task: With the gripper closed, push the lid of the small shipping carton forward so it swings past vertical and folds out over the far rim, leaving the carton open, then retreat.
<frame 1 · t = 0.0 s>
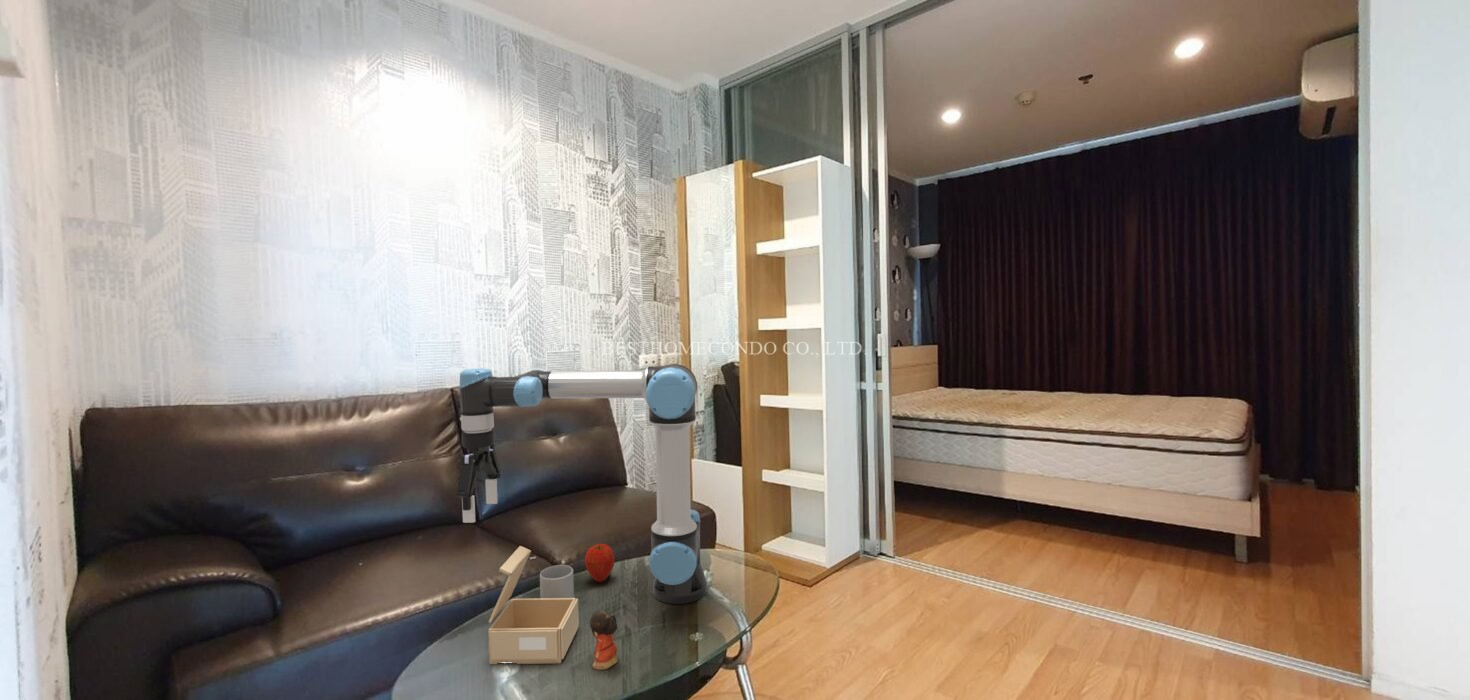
hand: (481, 512, 149), 28 cm above the table, fingers open, 13 cm apart
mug: (556, 609, 155), on the table
lid: (505, 582, 137), point 16 cm above the table, hinge at 65.0°
carton: (535, 645, 138), on the table
figurine: (605, 663, 131), on the table
apple: (600, 581, 171), on the table
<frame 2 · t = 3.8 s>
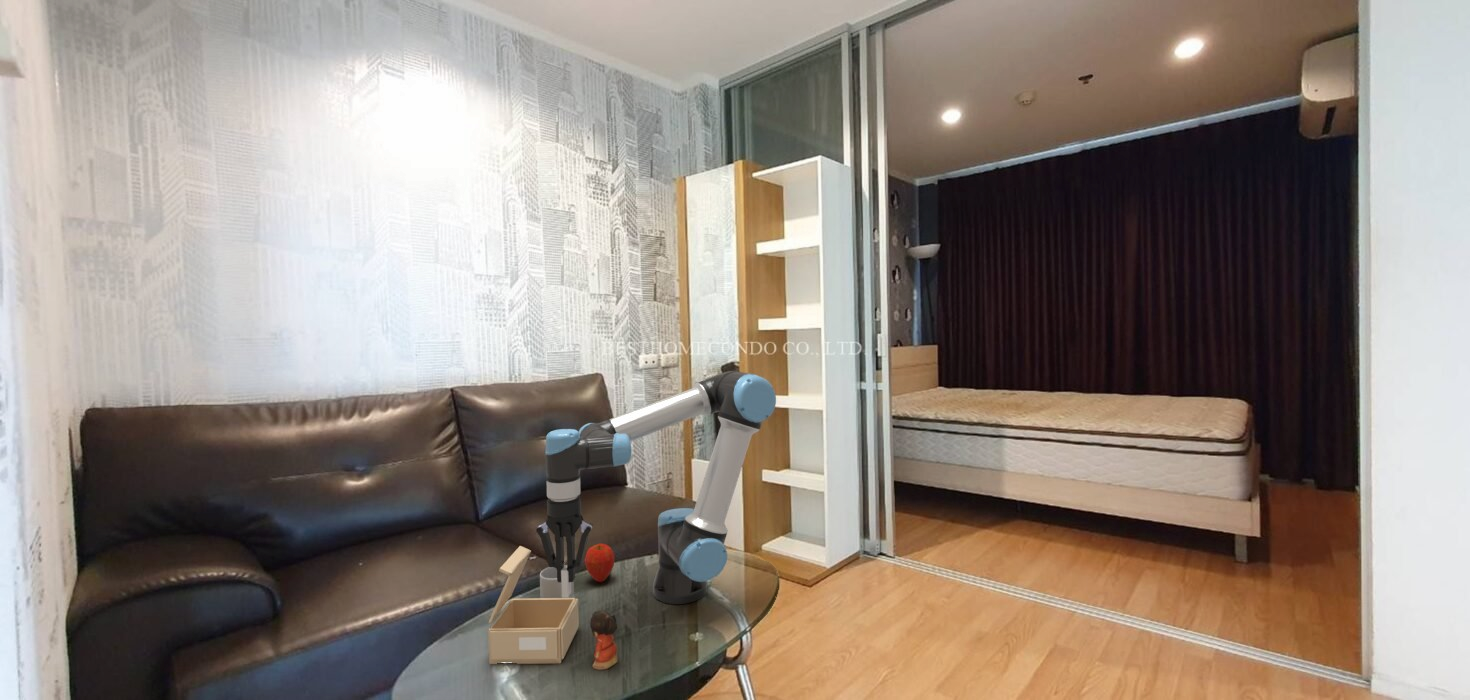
hand: (566, 594, 137), 12 cm above the table, fingers closed
nothing on the table moved.
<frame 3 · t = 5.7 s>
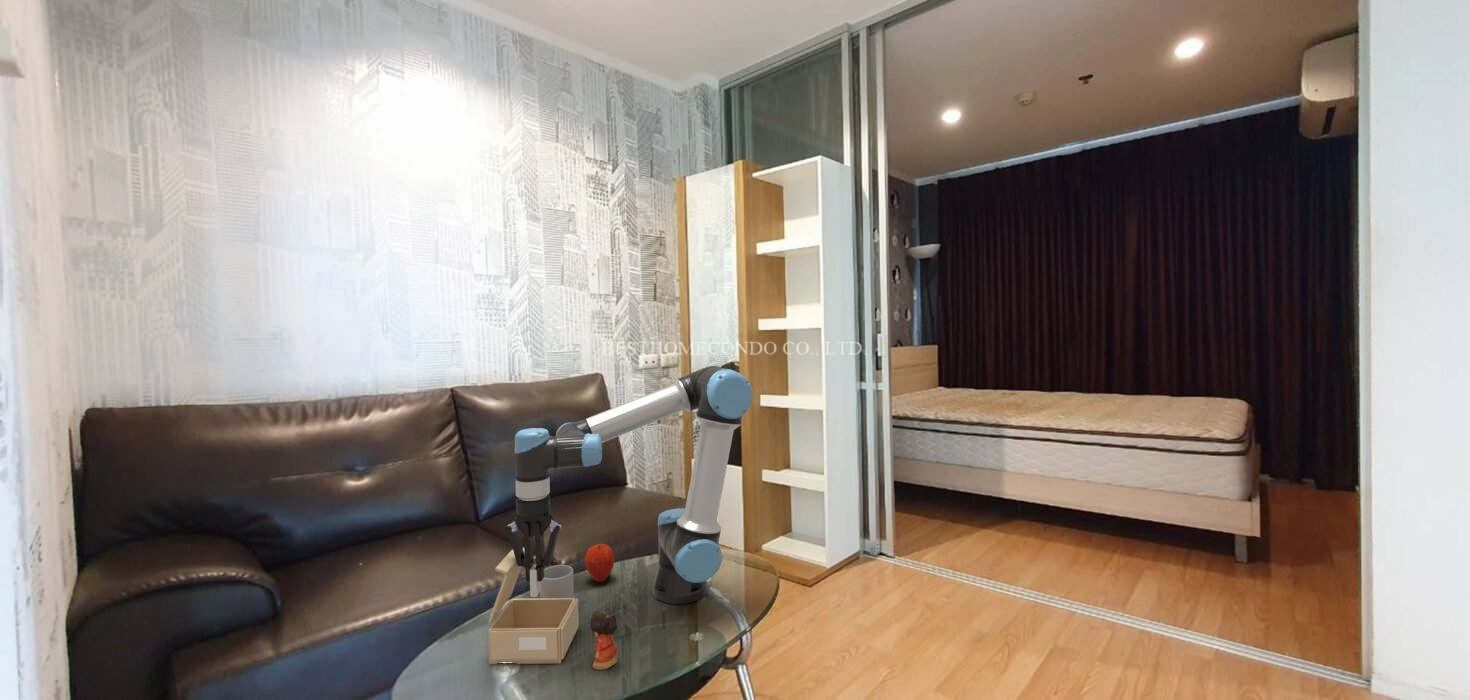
hand: (535, 593, 137), 13 cm above the table, fingers closed
lid: (503, 582, 137), point 16 cm above the table, hinge at 68.9°
everything else where it was.
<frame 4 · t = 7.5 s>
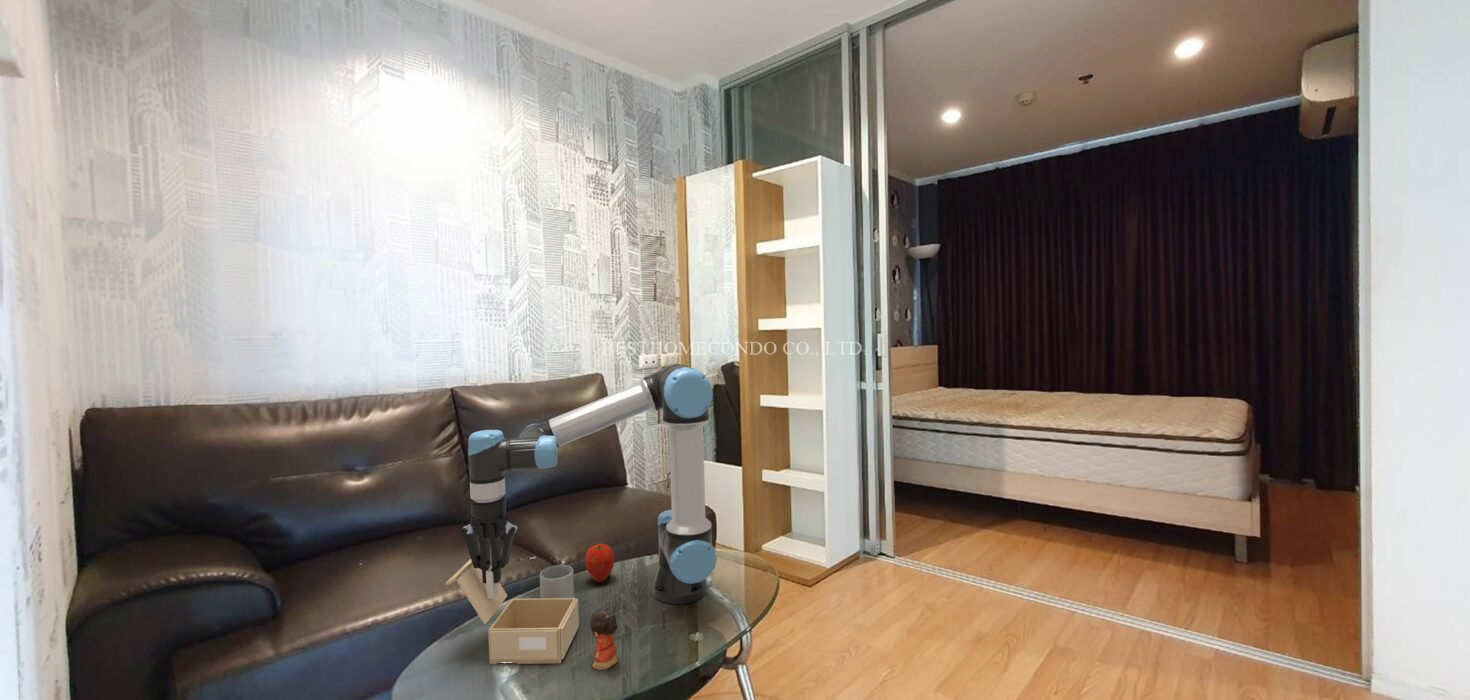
hand: (492, 595, 137), 12 cm above the table, fingers closed
lid: (477, 589, 137), point 14 cm above the table, hinge at 119.8°, touching gripper
everything else where it was.
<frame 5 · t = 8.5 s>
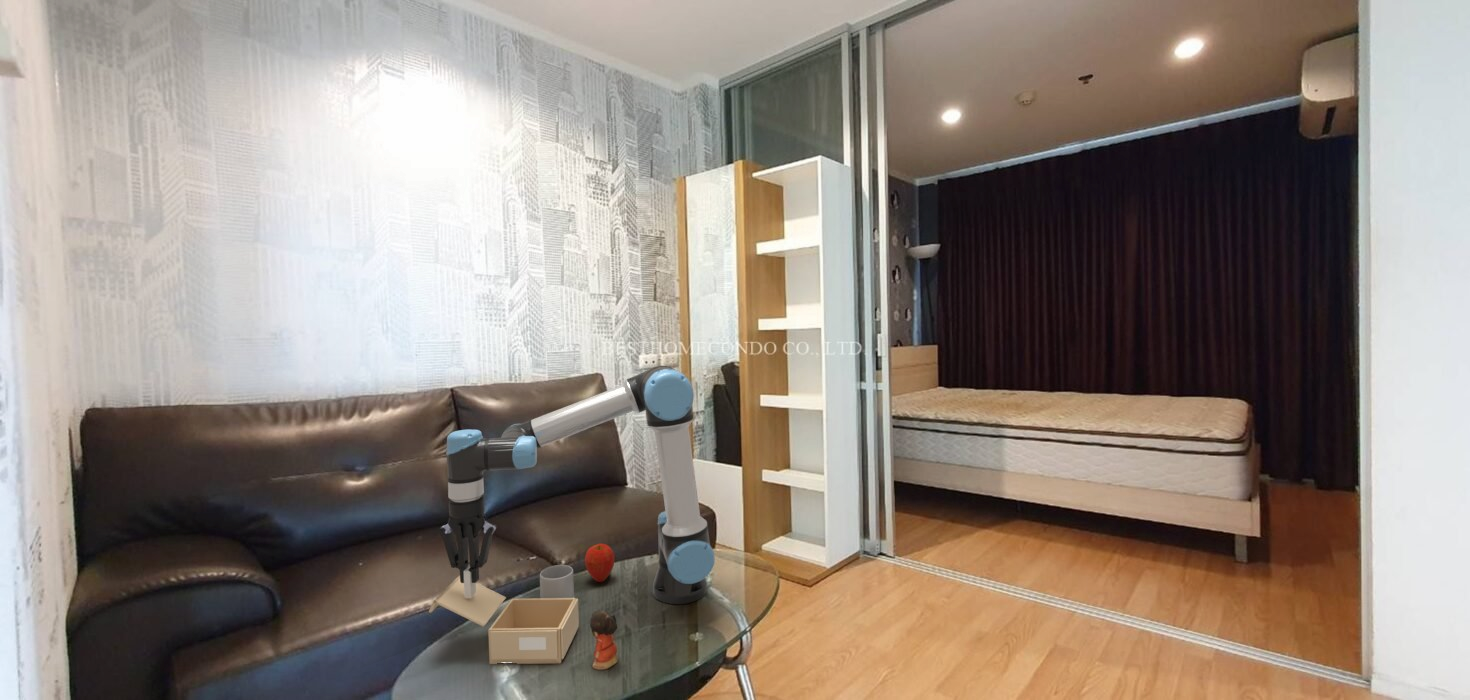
hand: (470, 595, 137), 13 cm above the table, fingers closed
lid: (469, 604, 137), point 10 cm above the table, hinge at 151.8°, touching gripper
everything else where it was.
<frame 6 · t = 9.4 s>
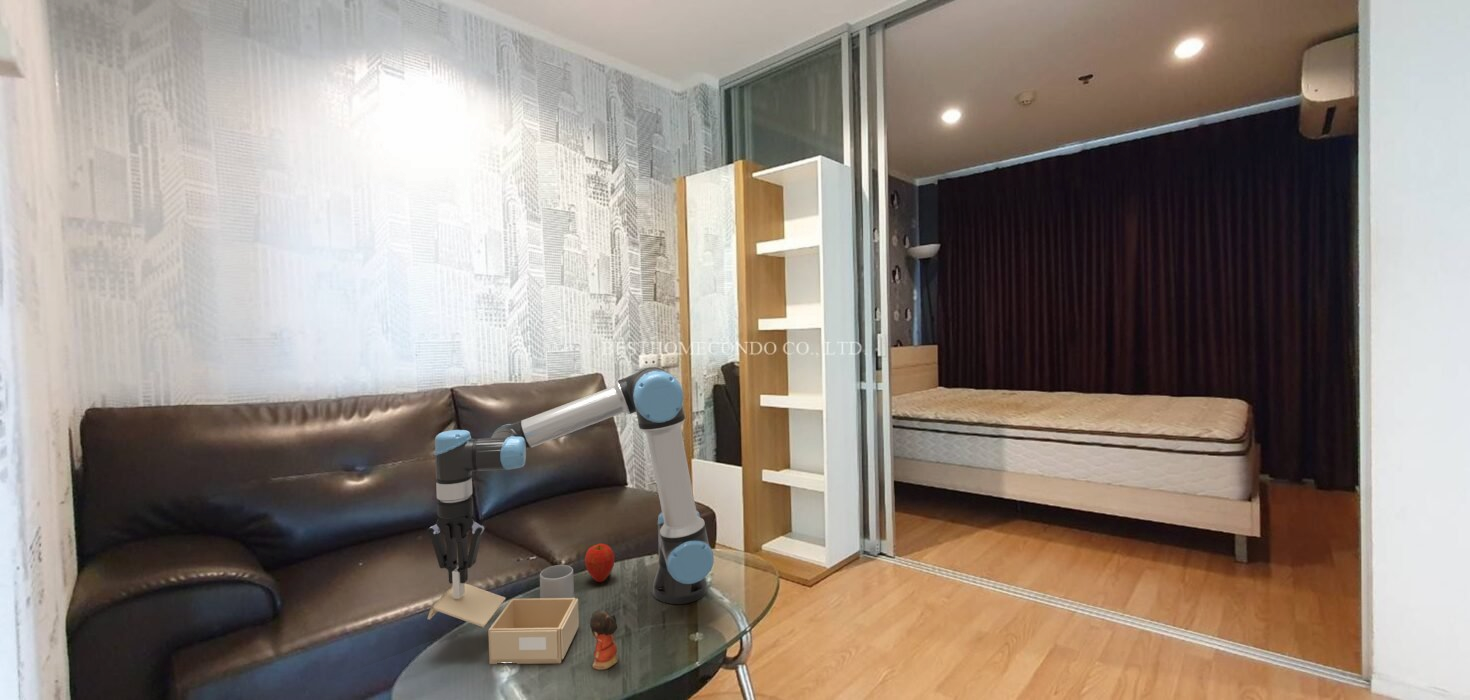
hand: (459, 595, 137), 12 cm above the table, fingers closed
lid: (468, 607, 137), point 10 cm above the table, hinge at 158.8°, touching gripper
everything else where it was.
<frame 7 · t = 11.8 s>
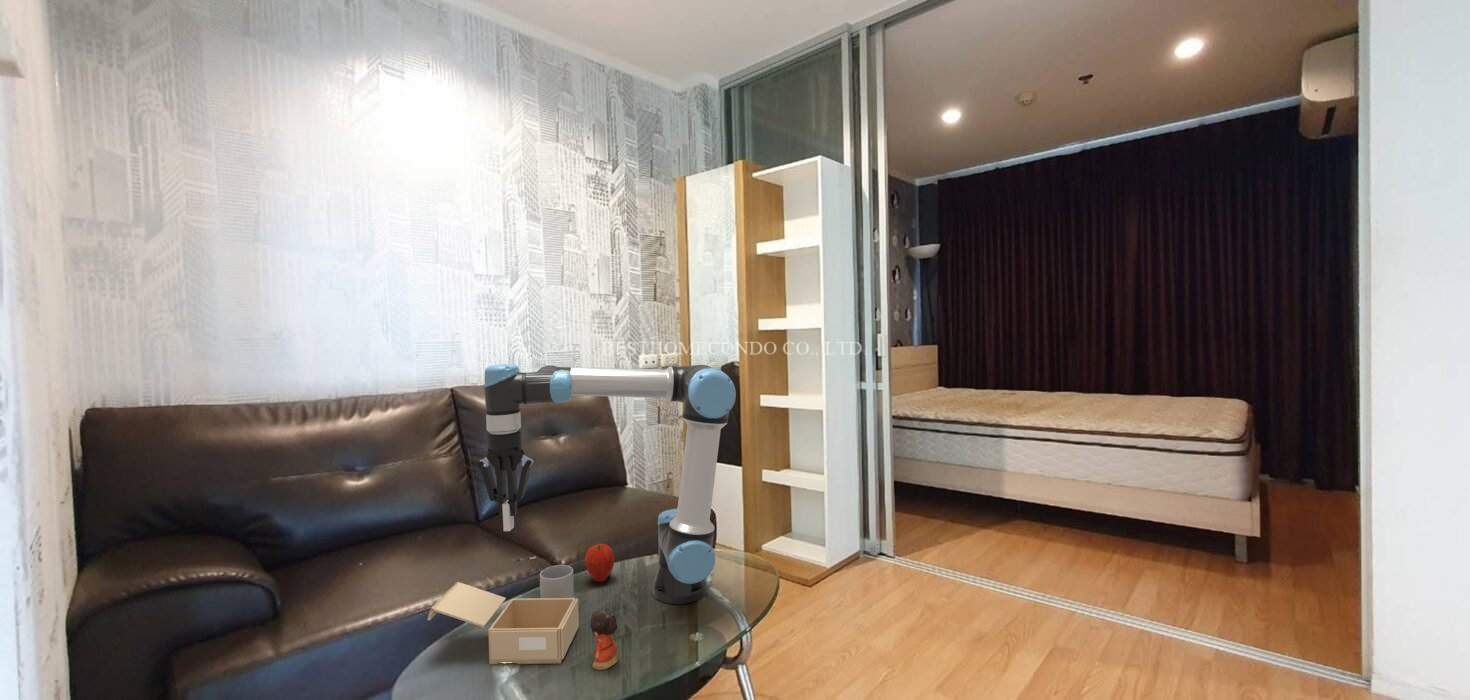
hand: (508, 528, 138), 28 cm above the table, fingers closed
lid: (468, 608, 137), point 9 cm above the table, hinge at 160.0°
everything else where it was.
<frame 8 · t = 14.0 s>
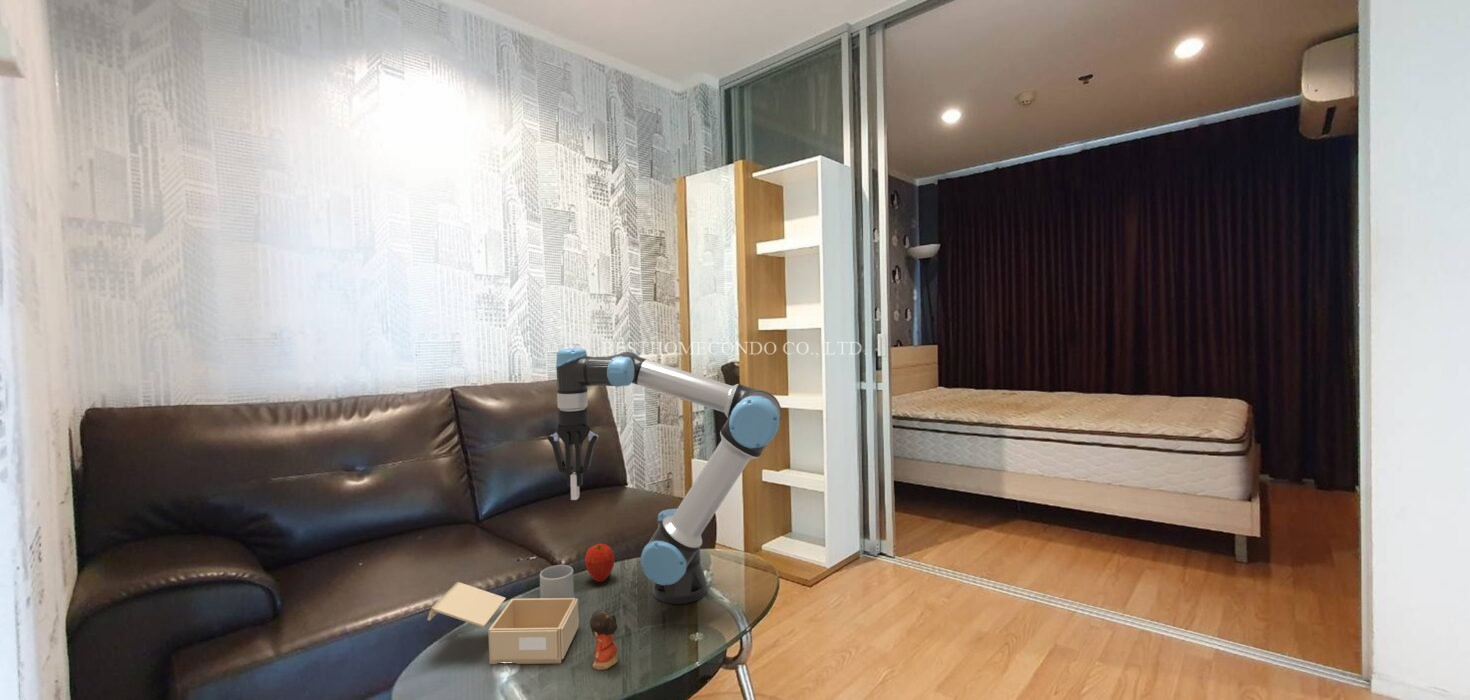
hand: (575, 498, 152), 30 cm above the table, fingers closed
nothing on the table moved.
at the end: lid at +160° (first picture: +65°) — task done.
